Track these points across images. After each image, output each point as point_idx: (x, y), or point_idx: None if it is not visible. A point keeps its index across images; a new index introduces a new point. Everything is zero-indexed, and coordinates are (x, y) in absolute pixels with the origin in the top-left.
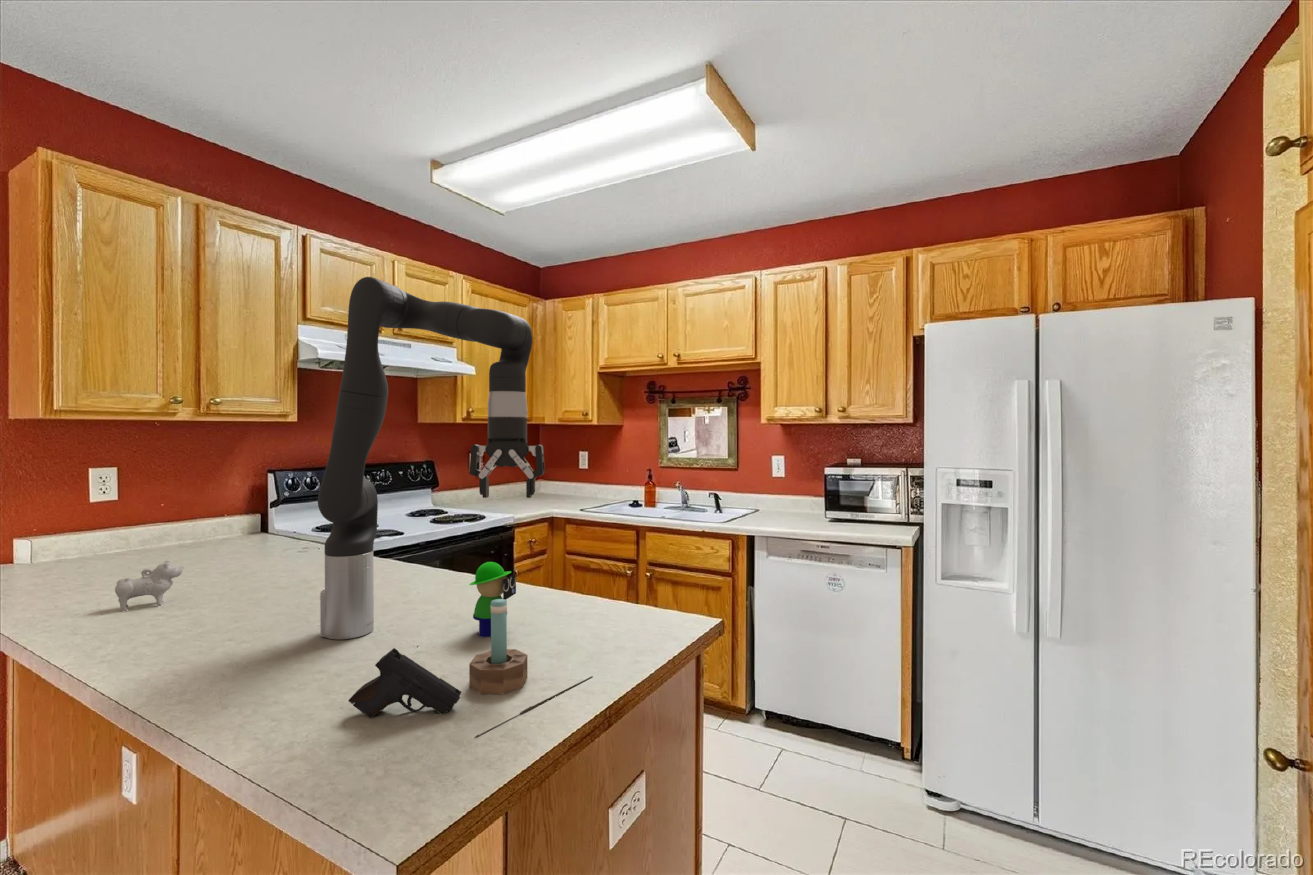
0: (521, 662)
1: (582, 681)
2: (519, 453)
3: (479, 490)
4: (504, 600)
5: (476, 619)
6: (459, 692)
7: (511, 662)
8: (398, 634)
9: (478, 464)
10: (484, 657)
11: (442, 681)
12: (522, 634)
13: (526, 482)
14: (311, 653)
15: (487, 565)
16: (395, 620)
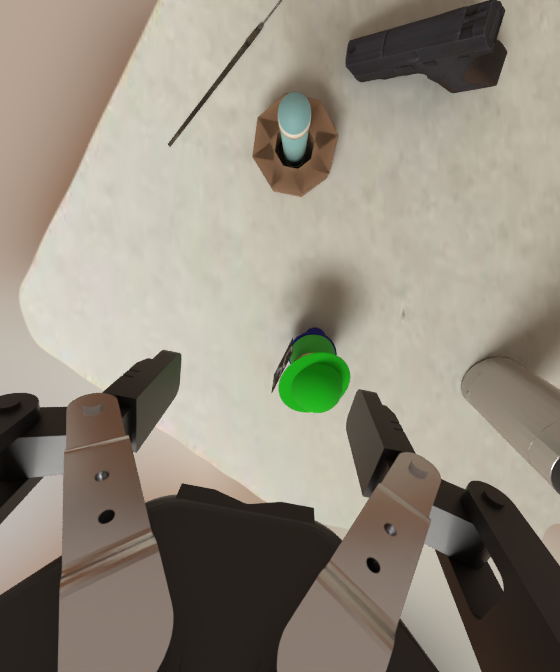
0: (260, 122)
1: (181, 127)
2: (39, 628)
3: (397, 419)
4: (282, 117)
5: (331, 340)
6: (349, 49)
7: (275, 125)
8: (428, 362)
9: (469, 602)
10: (316, 158)
11: (378, 46)
12: (268, 327)
13: (145, 388)
14: (537, 318)
15: (322, 389)
16: (433, 413)
